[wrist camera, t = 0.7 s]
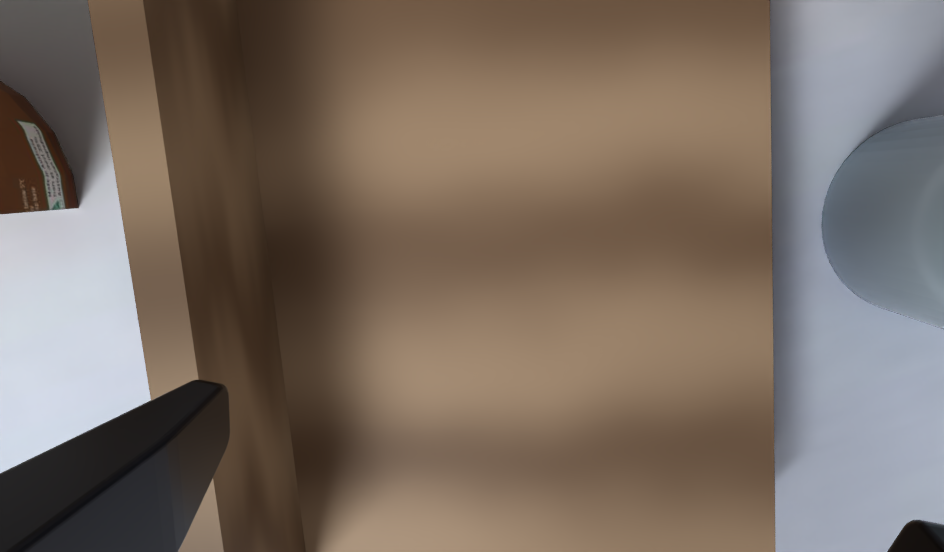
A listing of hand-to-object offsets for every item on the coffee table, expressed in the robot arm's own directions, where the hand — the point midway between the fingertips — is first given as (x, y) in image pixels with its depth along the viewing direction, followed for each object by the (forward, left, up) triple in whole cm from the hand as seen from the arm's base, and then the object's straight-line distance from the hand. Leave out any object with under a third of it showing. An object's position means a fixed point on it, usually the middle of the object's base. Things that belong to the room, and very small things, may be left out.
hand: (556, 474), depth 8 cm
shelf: (+2, +1, -14) cm, 14 cm away
